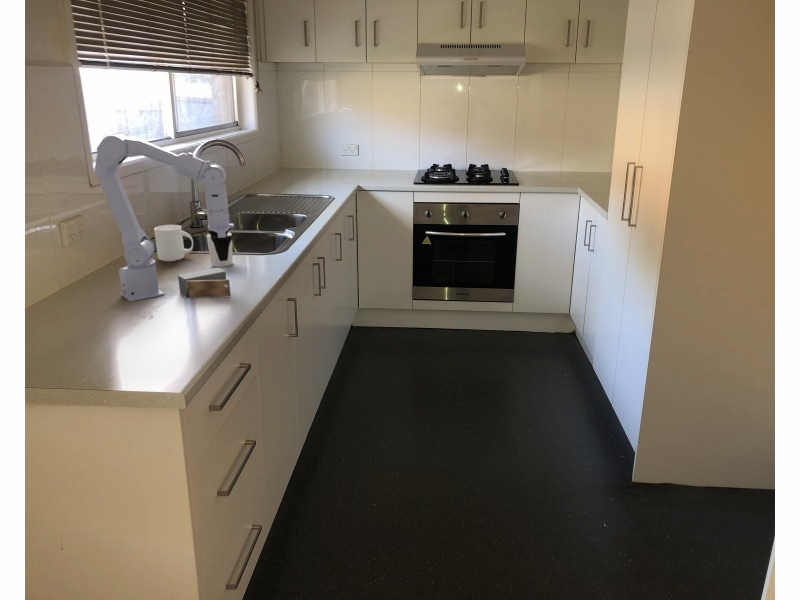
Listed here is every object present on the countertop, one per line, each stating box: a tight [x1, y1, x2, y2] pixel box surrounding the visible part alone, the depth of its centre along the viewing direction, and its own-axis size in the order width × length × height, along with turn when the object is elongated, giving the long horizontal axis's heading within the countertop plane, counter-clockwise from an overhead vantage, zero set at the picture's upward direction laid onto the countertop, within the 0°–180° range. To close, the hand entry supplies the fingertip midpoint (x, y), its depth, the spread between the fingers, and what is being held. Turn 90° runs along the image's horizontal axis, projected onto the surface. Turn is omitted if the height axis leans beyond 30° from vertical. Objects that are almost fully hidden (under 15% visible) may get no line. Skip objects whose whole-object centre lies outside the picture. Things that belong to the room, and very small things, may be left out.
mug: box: [153, 224, 194, 262], centre depth 215 cm, size 9×12×11 cm
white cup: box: [206, 231, 234, 268], centre depth 208 cm, size 8×8×10 cm
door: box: [185, 279, 232, 299], centre depth 176 cm, size 12×2×5 cm, turn 94°
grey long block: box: [177, 267, 227, 298], centre depth 182 cm, size 12×5×5 cm, turn 129°
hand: (222, 257), depth 180 cm, fingers open, 7 cm apart
